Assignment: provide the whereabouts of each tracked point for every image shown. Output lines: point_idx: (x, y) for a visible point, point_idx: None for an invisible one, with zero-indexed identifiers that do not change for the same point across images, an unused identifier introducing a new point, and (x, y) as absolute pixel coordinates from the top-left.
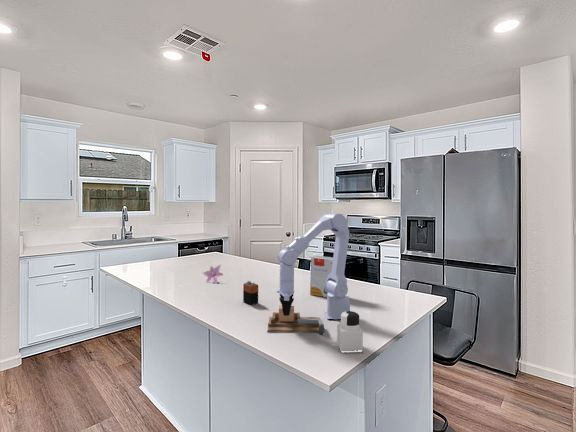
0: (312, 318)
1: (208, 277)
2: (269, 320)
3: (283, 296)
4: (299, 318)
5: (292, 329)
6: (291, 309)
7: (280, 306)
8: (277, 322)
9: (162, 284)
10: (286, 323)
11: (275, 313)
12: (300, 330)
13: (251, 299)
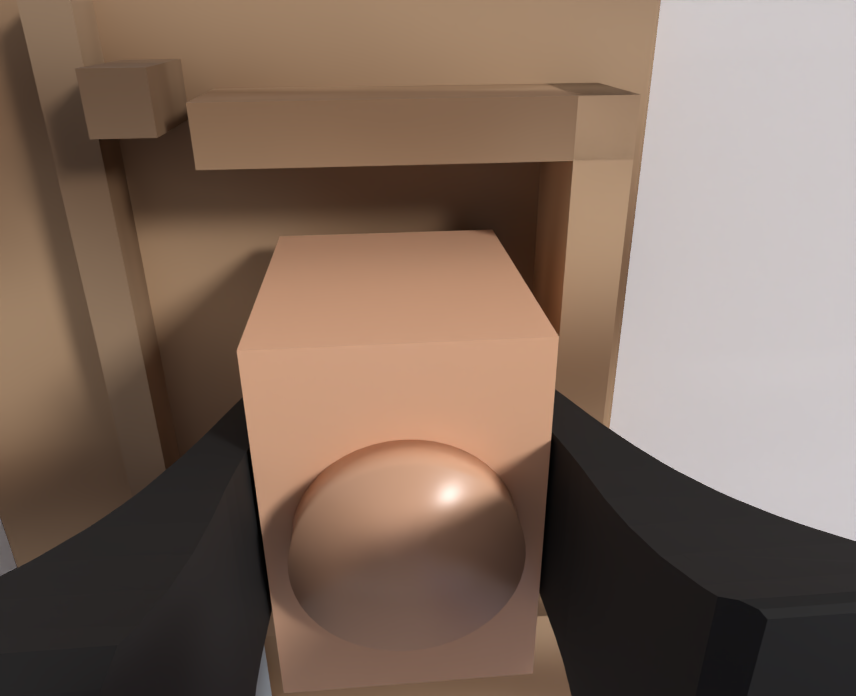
0: (524, 693)
1: None
2: (414, 10)
3: (667, 687)
4: (272, 624)
5: (14, 470)
6: (276, 635)
7: (472, 383)
8: (311, 200)
9: None
10: (133, 396)
11: (568, 164)
12: None
13: None
